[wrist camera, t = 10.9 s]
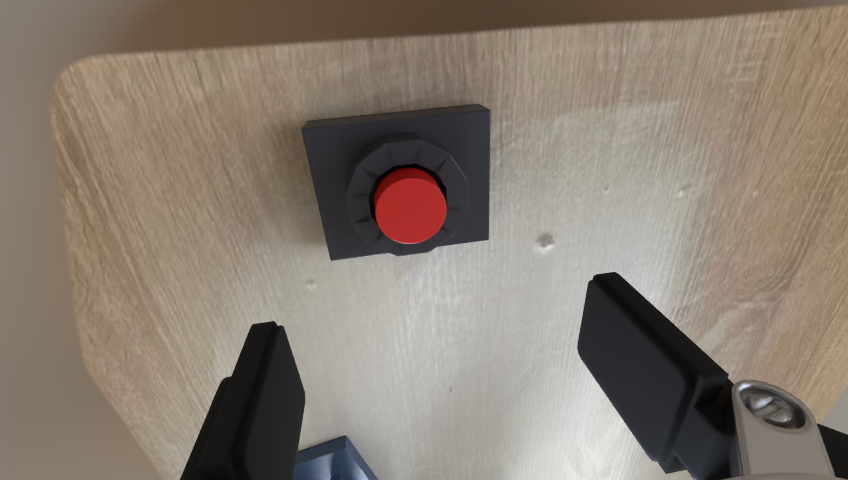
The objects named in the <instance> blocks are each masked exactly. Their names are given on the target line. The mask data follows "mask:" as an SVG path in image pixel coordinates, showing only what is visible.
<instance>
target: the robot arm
mask: <svg viewBox="0 0 848 480" xmlns="http://www.w3.org/2000/svg"><path fill="white" fill-rule="evenodd" d="M577 348H578V353H579V356H580V358H581V359H582V361H583V362H584V364H585V365H586V366H587V368H588V369H589V371H590V372H591V374H592V375H593V377H594V378H595V380H596V381H597V382H598V384H599V385H600V387H601V388H602V390H603V391H604V393H605V394H606V396H607V397H608V399H609V400H610V401H611V403H612V404H613V406H614V407H615V409H616V410H617V412H618V413H619V415H620V416H621V417H622V419H623V420H624V422H625V423H626V425H627V426H628V428H629V429H630V431H631V432H632V433H633V435H634V436H635V438H636V439H637V441H638V442H639V444H640V445H641V447H642V448H643V450H644V451H645V452H646V454H647V455H648V456H649V458H650V459H651V460H653V461H657V462H658V463H659V465H660V466H661V468H662V469H663V470H664V472H665V473H666V474H668V473H673V472H677V471H682V470H686V469H687V471H688V472H689V473H690V475H691V476H692V477H693V480H848V435H847V434H844V433H841V432H839V431H836V430H833V429H831V428H828V427H825V426H823V425H820V424H817V422H816V420H815V418H814V416H813V414H812V412H811V411H810V409H809V408H808V407H807V406H806V405H805V404H804V403H803V402H802V401H800V400H799V399H798V398H796V397H795V396H794V395H792V394H791V393H789V392H787V391H785V390H783V389H781V388H779V387H777V386H774V385H772V384H769V383H766V382H761V381H756V380H743V381H740V382H737V383H736V384H735V385H734V384H733V383H732V382H731V381H730V380H729V379H728V375H729V374H728V373H726V372H725V371H724V370H723V369H722V368H721V367H720V366H719V365H718V364H717V363H715V362H714V361H713V360H712V359H711V358H710V357H709V356H708V355H707V354H706V353H705V352H703V351H702V350H701V349H700V348H699V347H698V346H697V345H696V344H695V343H694V342H692V341H691V340H690V339H689V338H688V337H687V336H686V335H685V334H684V333H683V332H682V331H680V330H679V329H678V328H677V327H676V326H675V325H674V324H673V323H672V322H671V321H669V320H668V319H667V318H666V317H665V316H664V315H663V314H662V313H661V312H660V311H659V310H657V309H656V308H655V307H654V306H653V305H652V304H651V303H650V302H649V301H648V300H646V299H645V298H644V297H643V296H642V295H641V294H640V293H639V292H638V291H637V290H636V289H634V288H633V287H632V286H631V285H630V284H629V283H628V282H627V281H626V280H625V279H623V278H622V277H621V276H620V275H619V274H618V273H616V272H611V273H604V274H597V275H595V276H594V277H593V280H591V281H589V283H588V287H587V293H586V299H585V305H584V310H583V316H582V322H581V328H580V334H579V339H578V346H577ZM304 407H305V391H304V388H303V385H302V382H301V378H300V375H299V372H298V369H297V366H296V363H295V360H294V357H293V354H292V351H291V347H290V344H289V341H288V338H287V335H286V332H285V329H284V327H283V326H282V325H280V326H277V324H276V322H274V321H272V322H265V323H258V324H253V325H252V326H251V328H250V330H249V333H248V335H247V338H246V341H245V343H244V346H243V348H242V351H241V353H240V356H239V358H238V361H237V364H236V366H235V369H234V371H233V374H232V376H231V377H225V378H224V379H223V380H222V381H221V383H220V385H219V387H218V390H217V392H216V394H215V397H214V399H213V402H212V404H211V406H210V409H209V411H208V414H207V416H206V418H205V421H204V423H203V426H202V428H201V430H200V433H199V435H198V438H197V440H196V442H195V445H194V447H193V450H192V452H191V455H190V457H189V459H188V462H187V464H186V467H185V469H184V471H183V474H182V476H181V479H180V480H293V476H294V470H295V463H296V457H297V451H298V444H299V438H300V432H301V426H302V419H303V413H304Z"/></svg>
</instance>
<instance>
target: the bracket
mask: <svg viewBox="0 0 848 480" xmlns="http://www.w3.org/2000/svg"><path fill="white" fill-rule="evenodd" d="M293 480H378V479H377V478H376V476H375V475H374V474H373V472H372V471H371V470H370V468H369V467H368V465H367V464H366V463H365V461H364V460H363V459H362V457H361V456H360V454H359V453H358V452H357V450H356V449H355V447H354V446H353V445H352V443H351V442H350V441H349V439H348V438H347V436H344V437H341V438H338V439H335V440H332V441H330V442H327V443H324V444H321V445H318V446H315V447H312V448H309V449H306V450H304V451H301V452H298V453H297V457H296V463H295V470H294V476H293Z"/></svg>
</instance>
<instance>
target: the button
mask: <svg viewBox="0 0 848 480" xmlns="http://www.w3.org/2000/svg"><path fill="white" fill-rule="evenodd" d="M446 211H447V207H446V201H445V198H444V196H443V194H442V192H441V190H440V188H439V186H438V184H437V183H436V181H435V180H434V179H433V177H432V176H430V175H429V174H428V173H426V172H424V171H423V170H420V169H416V168H401V169H398V170H395V171H393V172H391V173H389V174H388V175H387V176H385V177H384V178H383V179H382V181H381V182H380V183H379V185H378V187H377V189H376V192H375V214H376V220H377V223H378V226H379V227H380V229H381V230H382V232H383V233H384V234H385V235H386V236H388V237H389V238H391V239H392V240H394V241H397V242H400V243H405V244H414V243H419V242H422V241H425V240H427V239H429V238H431V237H432V236H433V235H435V234H436V233H437V232H438V230H439V229H440V228H441V226H442V225H443V223H444V220H445V217H446Z"/></svg>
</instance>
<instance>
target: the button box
mask: <svg viewBox="0 0 848 480" xmlns="http://www.w3.org/2000/svg"><path fill="white" fill-rule="evenodd" d="M302 134H303V139H304V143H305V148H306V152H307V157H308V161H309V166H310V170H311V175H312V179H313V183H314V188H315V192H316V197H317V201H318V206H319V210H320V215H321V219H322V224H323V228H324V233H325V237H326V242H327V246H328V251H329V255H330V259H331V261H334V260H342V259H349V258H357V257H364V256H372V255H379V254H386V253H390V254H393V255H396V256H405V255H412V254H420V253H427V252H428V251H431V250H433V249H434V248H436V247H439V246H446V245H454V244H461V243H469V242H476V241H484V240H488V239H489V175H490V110H489V109H487V108H486V107H484V106H482V105H480V104H473V105H463V106H453V107H443V108H433V109H423V110H412V111H402V112H392V113H382V114H372V115H362V116H352V117H342V118H332V119H322V120H312V121H307V122H306V124H305V125H304V126H303V128H302ZM401 168H416V169H420V170H423V171H424V172H426V173H428V174H429V175H430V176H432V177H433V179H434V180H435V181H436V183H437V184H438V186H439V188H440V190H441V192H442V194H443V196H444V198H445V201H446V207H447V211H446V217H445V220H444V223H443V225H442V226H441V228H440V229H439V230H438V232H437V233H436V234H435V235H433V236H432V237H431V238H429V239H427V240H425V241H422V242H419V243H414V244H405V243H400V242H397V241H394V240H392V239H391V238H389V237H388V236H386V235H385V234H384V233H383V232H382V230H381V229H380V227H379V226H378V223H377V220H376V214H375V192H376V189H377V187H378V185H379V183H380V182H381V181H382V179H383V178H384V177H385V176H387V175H388V174H389V173H391V172H393V171H395V170H398V169H401Z"/></svg>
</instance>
